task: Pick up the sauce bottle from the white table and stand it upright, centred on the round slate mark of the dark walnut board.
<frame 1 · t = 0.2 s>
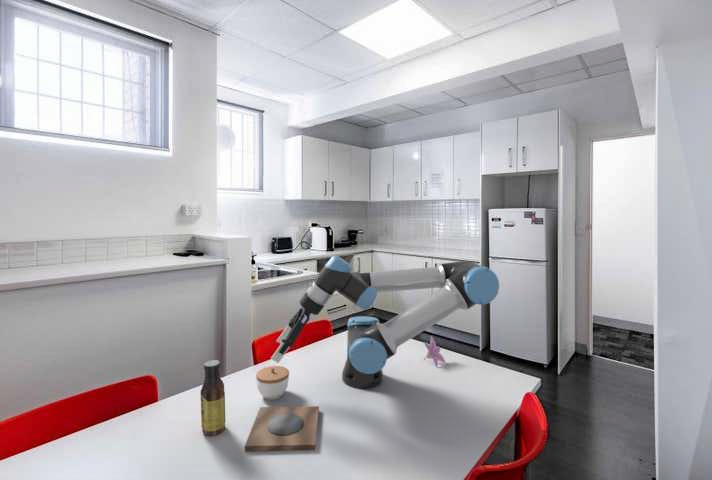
hand: (277, 351, 115), 16 cm above the table, tool tilted 35°, fingers open, 13 cm apart
walnut board: (285, 429, 100), on the table
sauce bottle: (213, 431, 99), on the table
lily: (432, 363, 146), on the table
lidded jar: (272, 395, 118), on the table
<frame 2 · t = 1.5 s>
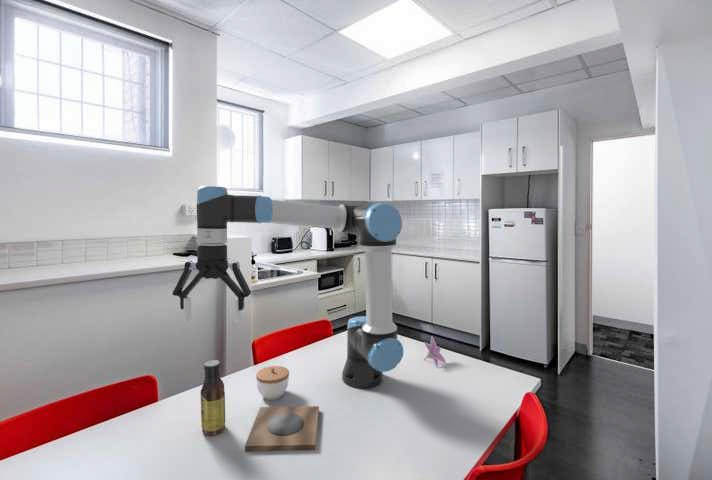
hand: (212, 321, 97), 31 cm above the table, tool pointing down, fingers open, 13 cm apart
nothing on the table moved.
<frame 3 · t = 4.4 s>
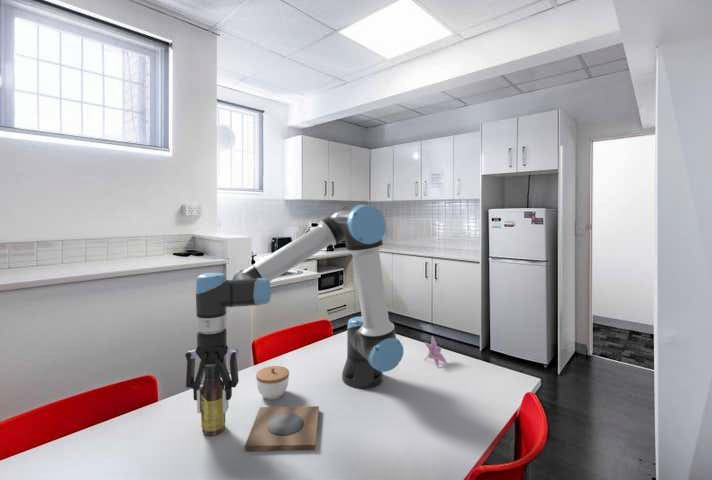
hand: (213, 410, 98), 6 cm above the table, tool pointing down, fingers closed on sauce bottle, 6 cm apart
sauce bottle: (213, 431, 99), on the table, touching gripper
everything else where it was.
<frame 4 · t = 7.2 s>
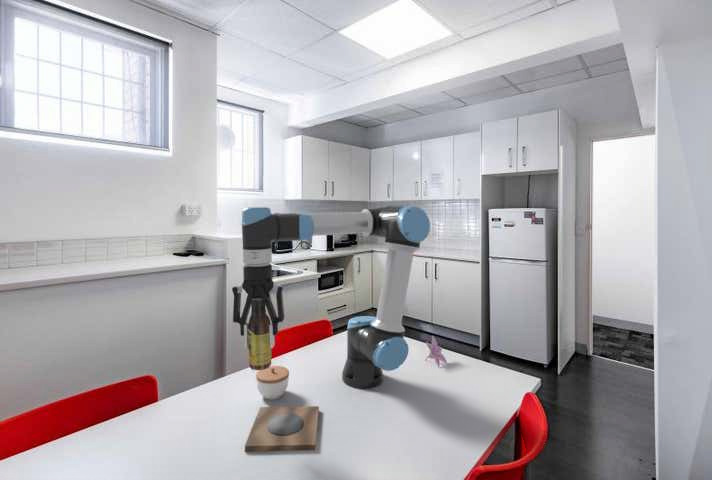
hand: (259, 346, 98), 24 cm above the table, tool pointing down, fingers closed on sauce bottle, 6 cm apart
sauce bottle: (260, 367, 98), point 18 cm above the table, touching gripper
everything else where it was.
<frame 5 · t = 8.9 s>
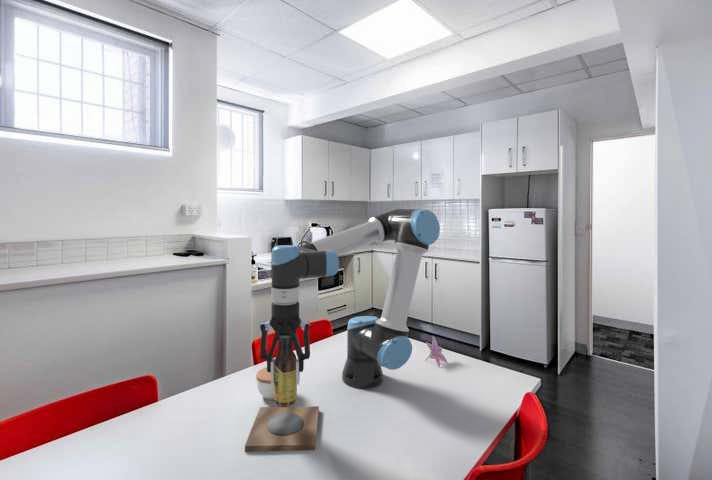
hand: (285, 382, 99), 14 cm above the table, tool pointing down, fingers closed on sauce bottle, 6 cm apart
sauce bottle: (285, 403, 99), point 8 cm above the table, touching gripper
everything else where it was.
when the fingers open (9 cm above the table, at t = 10.3 s): sauce bottle drops 1 cm, resting on walnut board.
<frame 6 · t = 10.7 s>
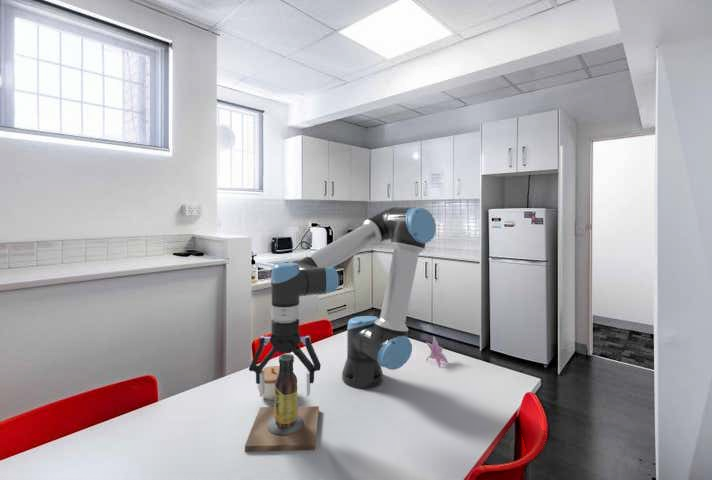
hand: (285, 394, 99), 10 cm above the table, tool pointing down, fingers open, 12 cm apart
sauce bottle: (285, 423, 100), point 2 cm above the table, touching walnut board
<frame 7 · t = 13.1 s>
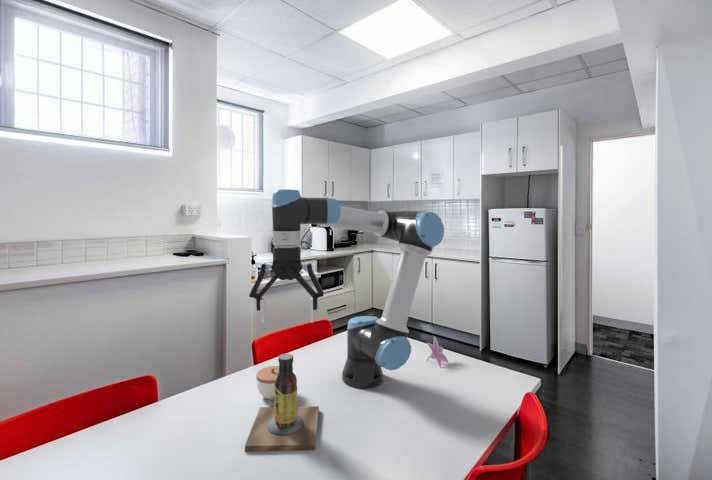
hand: (287, 321, 99), 31 cm above the table, tool pointing down, fingers open, 13 cm apart
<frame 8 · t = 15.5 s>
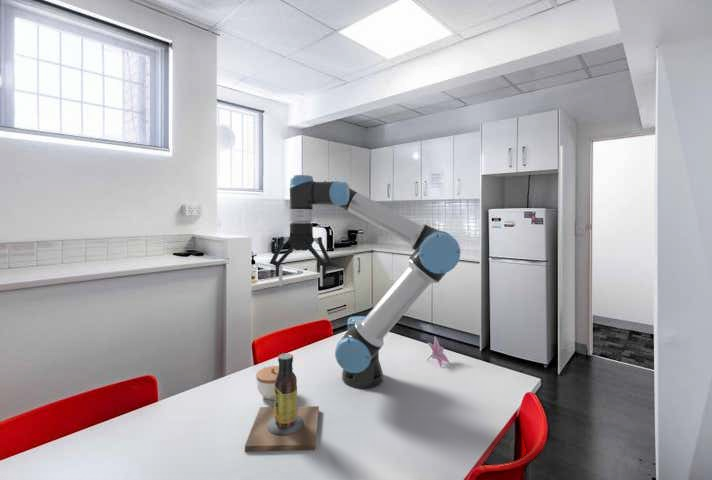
hand: (301, 285, 119), 37 cm above the table, tool pointing down, fingers open, 13 cm apart
at the end: sauce bottle 0.1 cm off-centre on the walnut board, point 1.6 cm above the walnut board's base; sauce bottle tilted 0°; the gripper is holding nothing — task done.
